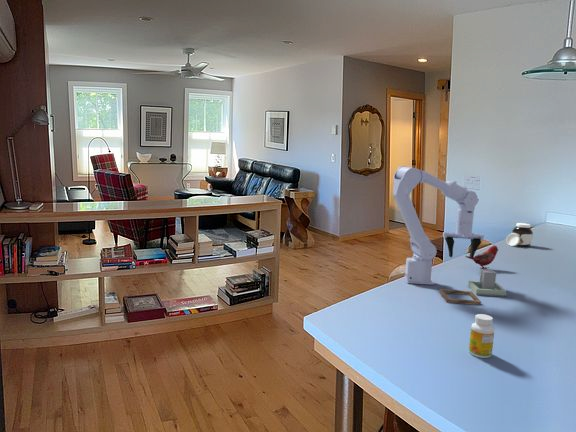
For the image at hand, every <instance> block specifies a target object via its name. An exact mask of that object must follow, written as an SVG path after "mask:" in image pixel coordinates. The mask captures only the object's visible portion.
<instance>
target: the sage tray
mask: <svg viewBox="0 0 576 432" xmlns="http://www.w3.org/2000/svg"><path fill="white" fill-rule="evenodd" d="M467 284H468V285H467V286H468V288H469V289H470V291H472V292H473V293H474V294H475V296H489V297H501V298H502V297H503V298H504V297H507V290H506V289H504V288H503V286H501V285H500V284H499V283H498V282H495V288H494V290H492V289H480V288H479V284H480V281H475V280H468V283H467Z"/></svg>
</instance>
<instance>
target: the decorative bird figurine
mask: <svg viewBox="0 0 576 432" xmlns="http://www.w3.org/2000/svg"><path fill="white" fill-rule="evenodd" d="M498 248H499V247H497V245H492V246H490V247H489V248H488V249H487V250H485V251H484V252H480V253H479V254H477V255H474V257H473V258H470V255H469V256H467V255H465V258H468V259H469V260H472V261H474V263H475V264H477V265H479V266H480V268H479V270H481V269H485V270H488V269H489V268H490V267H487V266H488V265H490V264H492V262H493V261H494V260H495V258H496V256H497V253H498V252H499V249H498Z"/></svg>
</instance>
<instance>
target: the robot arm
mask: <svg viewBox="0 0 576 432" xmlns="http://www.w3.org/2000/svg"><path fill="white" fill-rule="evenodd" d="M393 174H394V175H393V176H392V178H393V189H392V196H393V198H394V201H395V203H396V205H397V208H398V211H399V213H400V215H401V217H402V220H403V222H404V224H405V227H406V229H407V231H408V234H409V236H410V237H409V241H410V251H411V252H412V257H406V260H405V267H404V268H405V270H404V277H403V278H404V279H405V281H406V283H407V284H415V285H417V284H419V285H432V286H433V285H434V283H433V281H432V272H433V271H432V268H433V259H434V258H435V257H436V255H437V252H438V251H437V247H436V246H435V244H433V243H432V242H431V240H430V238H429V237H428V236H427V234H426V233H425V231H424V229H423V225H422V223H421V221H420V218H419V216H418V213H417V212H416V209H415V207H414V204H413V202H412V200H411V198H410V195H411V192H412V191H413V190H414V189H415V188H416V187H417V186H418V184H423V183H425V184H427V185H429V186H431V187H434V188H436V189H438V190H440V192H441V195H442V196H444V197H446V198H449V199H451V200H452V201H455V202H456V203H457V212H456V213H457V215H456V224H455V231H443V232H442V237H443V238H444V240H445V242H446V245H447V248H448V256H449V258H453V256H454V255H453V254H454V253H453V252H454V244H455V240H454V239H463V240H464V239H465V240H470V251H469V256H470V258H473V257H475V253H476V251H477V250H478V248H479V246H480V245H481V244H482V241H484V238H485V237H484V236H485V235H484V234H483V233H475V232H472V231H473V224H474V215H475V213H474V212H475V210H476V209H475V208H476V206H477V204H478V203H479V198H478V195H477V193H476V192H475V191H473V190H468V187H466V186H461V185H459V184H458V183H457V181H456V180H447V181H444V180H443V179H440V178H438V177H436V176H434V175H432V174H431V173H429V172H427V171H425V170H422V169H418V168H417V167H409V166H406V165H404V166H399V167H397V169H396V171H395V172H394V173H393ZM470 258H469V259H470Z"/></svg>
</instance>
